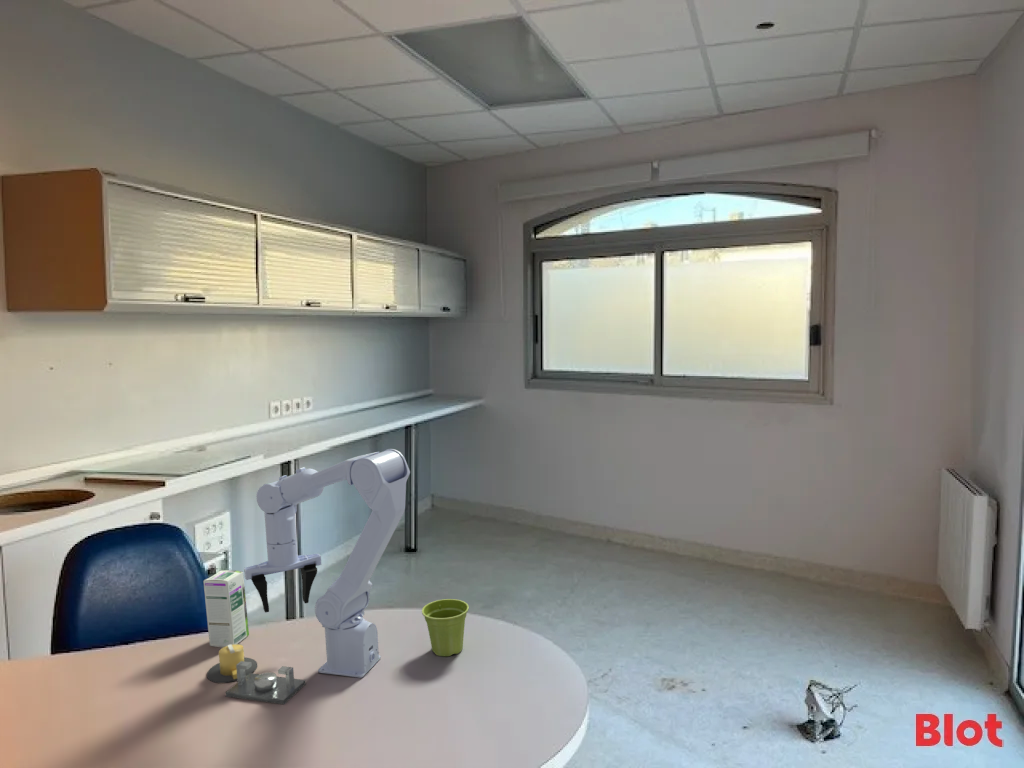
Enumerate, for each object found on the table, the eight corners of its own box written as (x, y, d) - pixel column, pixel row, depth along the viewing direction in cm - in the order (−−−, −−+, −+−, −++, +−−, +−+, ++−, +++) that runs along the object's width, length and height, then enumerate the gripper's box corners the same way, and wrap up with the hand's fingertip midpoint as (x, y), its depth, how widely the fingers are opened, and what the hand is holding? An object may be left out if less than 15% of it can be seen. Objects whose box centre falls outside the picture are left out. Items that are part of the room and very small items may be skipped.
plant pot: (417, 659, 134) (414, 617, 134) (432, 637, 143) (430, 597, 143) (462, 663, 132) (460, 620, 131) (475, 640, 141) (474, 600, 141)
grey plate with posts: (305, 684, 127) (304, 660, 126) (283, 704, 120) (282, 679, 120) (249, 677, 130) (248, 653, 129) (225, 696, 123) (223, 671, 123)
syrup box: (233, 648, 142) (228, 580, 140) (208, 646, 143) (202, 579, 141) (249, 635, 147) (244, 570, 146) (224, 634, 148) (219, 569, 147)
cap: (249, 674, 130) (247, 652, 130) (224, 682, 128) (222, 659, 127) (240, 657, 137) (238, 636, 136) (216, 664, 134) (215, 643, 134)
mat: (266, 661, 136) (266, 660, 136) (237, 685, 127) (236, 683, 127) (228, 656, 138) (228, 655, 138) (196, 679, 129) (196, 678, 129)
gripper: (313, 528, 143) (317, 591, 145) (240, 541, 136) (245, 607, 138) (322, 537, 137) (326, 602, 139) (245, 551, 130) (250, 620, 132)
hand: (286, 605), depth 138 cm, fingers open, 7 cm apart
